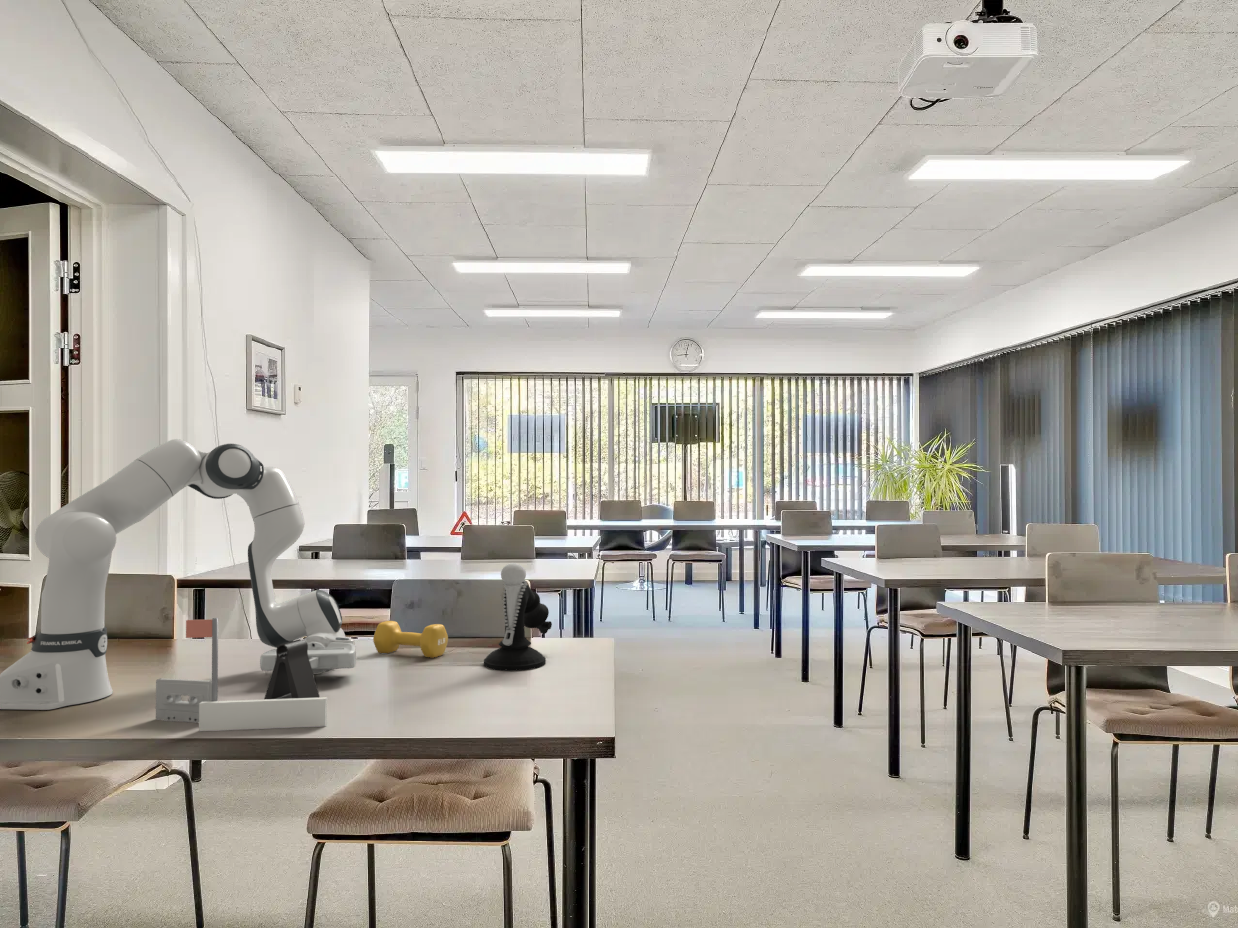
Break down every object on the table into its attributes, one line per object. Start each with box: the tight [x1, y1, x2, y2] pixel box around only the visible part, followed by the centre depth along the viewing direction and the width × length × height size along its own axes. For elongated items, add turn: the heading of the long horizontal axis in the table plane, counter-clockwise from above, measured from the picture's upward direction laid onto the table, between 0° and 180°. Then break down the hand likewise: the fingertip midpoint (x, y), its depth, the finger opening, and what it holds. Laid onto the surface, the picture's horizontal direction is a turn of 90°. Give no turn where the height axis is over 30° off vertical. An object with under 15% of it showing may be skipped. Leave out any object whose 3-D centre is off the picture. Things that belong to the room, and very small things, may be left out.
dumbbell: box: [372, 620, 449, 659], centre depth 212 cm, size 19×9×8 cm, turn 69°
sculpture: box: [483, 562, 553, 672], centre depth 204 cm, size 15×24×25 cm, turn 157°
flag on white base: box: [185, 617, 328, 732], centre depth 154 cm, size 25×14×20 cm, turn 98°
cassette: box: [155, 677, 212, 724], centre depth 153 cm, size 12×2×8 cm, turn 80°
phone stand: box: [263, 638, 320, 700], centre depth 167 cm, size 9×6×12 cm, turn 72°
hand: (301, 666), depth 174 cm, fingers closed
